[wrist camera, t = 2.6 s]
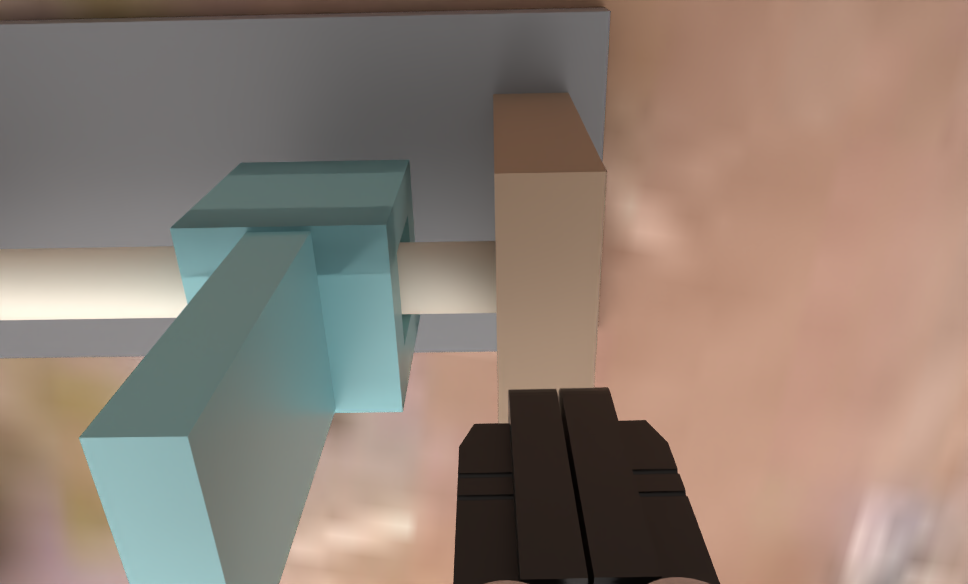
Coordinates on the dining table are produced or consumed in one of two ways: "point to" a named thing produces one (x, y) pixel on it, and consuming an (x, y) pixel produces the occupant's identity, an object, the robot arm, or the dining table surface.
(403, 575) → the dining table surface
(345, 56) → the grey rod holder stand
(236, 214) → the light blue bracket block
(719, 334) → the dining table surface
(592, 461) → the robot arm
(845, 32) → the dining table surface
